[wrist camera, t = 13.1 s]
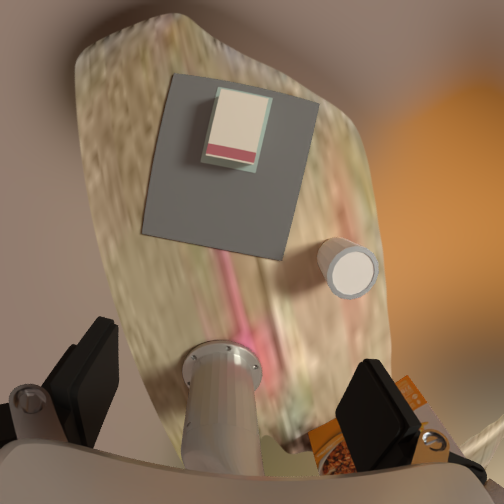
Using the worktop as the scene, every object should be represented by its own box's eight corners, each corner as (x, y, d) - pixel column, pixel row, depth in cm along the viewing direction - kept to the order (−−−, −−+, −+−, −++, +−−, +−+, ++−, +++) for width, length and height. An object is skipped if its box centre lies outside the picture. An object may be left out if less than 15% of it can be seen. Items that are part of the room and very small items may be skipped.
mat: (281, 260, 42) (282, 261, 41) (142, 232, 39) (141, 233, 39) (318, 104, 36) (319, 103, 35) (174, 74, 33) (174, 73, 33)
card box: (221, 95, 34) (220, 88, 31) (265, 104, 35) (268, 98, 32) (207, 155, 37) (205, 155, 33) (251, 164, 37) (253, 164, 34)
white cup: (367, 255, 42) (388, 272, 36) (332, 288, 43) (349, 310, 37) (338, 222, 41) (358, 234, 34) (302, 257, 42) (315, 275, 35)
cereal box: (407, 374, 50) (484, 487, 21) (413, 391, 52) (482, 496, 23) (307, 432, 52) (342, 561, 24) (320, 444, 54) (355, 563, 25)
